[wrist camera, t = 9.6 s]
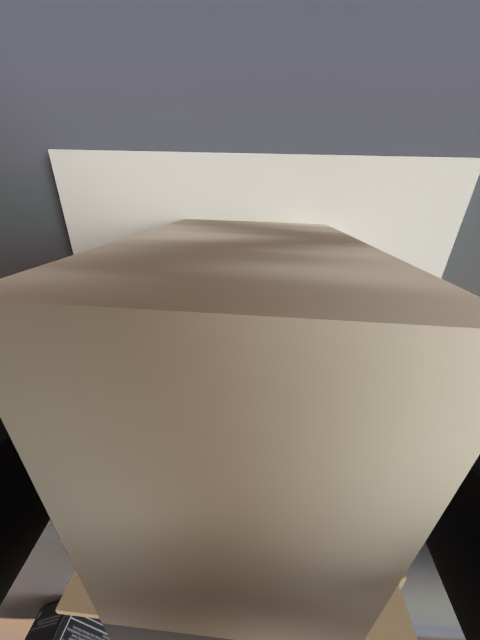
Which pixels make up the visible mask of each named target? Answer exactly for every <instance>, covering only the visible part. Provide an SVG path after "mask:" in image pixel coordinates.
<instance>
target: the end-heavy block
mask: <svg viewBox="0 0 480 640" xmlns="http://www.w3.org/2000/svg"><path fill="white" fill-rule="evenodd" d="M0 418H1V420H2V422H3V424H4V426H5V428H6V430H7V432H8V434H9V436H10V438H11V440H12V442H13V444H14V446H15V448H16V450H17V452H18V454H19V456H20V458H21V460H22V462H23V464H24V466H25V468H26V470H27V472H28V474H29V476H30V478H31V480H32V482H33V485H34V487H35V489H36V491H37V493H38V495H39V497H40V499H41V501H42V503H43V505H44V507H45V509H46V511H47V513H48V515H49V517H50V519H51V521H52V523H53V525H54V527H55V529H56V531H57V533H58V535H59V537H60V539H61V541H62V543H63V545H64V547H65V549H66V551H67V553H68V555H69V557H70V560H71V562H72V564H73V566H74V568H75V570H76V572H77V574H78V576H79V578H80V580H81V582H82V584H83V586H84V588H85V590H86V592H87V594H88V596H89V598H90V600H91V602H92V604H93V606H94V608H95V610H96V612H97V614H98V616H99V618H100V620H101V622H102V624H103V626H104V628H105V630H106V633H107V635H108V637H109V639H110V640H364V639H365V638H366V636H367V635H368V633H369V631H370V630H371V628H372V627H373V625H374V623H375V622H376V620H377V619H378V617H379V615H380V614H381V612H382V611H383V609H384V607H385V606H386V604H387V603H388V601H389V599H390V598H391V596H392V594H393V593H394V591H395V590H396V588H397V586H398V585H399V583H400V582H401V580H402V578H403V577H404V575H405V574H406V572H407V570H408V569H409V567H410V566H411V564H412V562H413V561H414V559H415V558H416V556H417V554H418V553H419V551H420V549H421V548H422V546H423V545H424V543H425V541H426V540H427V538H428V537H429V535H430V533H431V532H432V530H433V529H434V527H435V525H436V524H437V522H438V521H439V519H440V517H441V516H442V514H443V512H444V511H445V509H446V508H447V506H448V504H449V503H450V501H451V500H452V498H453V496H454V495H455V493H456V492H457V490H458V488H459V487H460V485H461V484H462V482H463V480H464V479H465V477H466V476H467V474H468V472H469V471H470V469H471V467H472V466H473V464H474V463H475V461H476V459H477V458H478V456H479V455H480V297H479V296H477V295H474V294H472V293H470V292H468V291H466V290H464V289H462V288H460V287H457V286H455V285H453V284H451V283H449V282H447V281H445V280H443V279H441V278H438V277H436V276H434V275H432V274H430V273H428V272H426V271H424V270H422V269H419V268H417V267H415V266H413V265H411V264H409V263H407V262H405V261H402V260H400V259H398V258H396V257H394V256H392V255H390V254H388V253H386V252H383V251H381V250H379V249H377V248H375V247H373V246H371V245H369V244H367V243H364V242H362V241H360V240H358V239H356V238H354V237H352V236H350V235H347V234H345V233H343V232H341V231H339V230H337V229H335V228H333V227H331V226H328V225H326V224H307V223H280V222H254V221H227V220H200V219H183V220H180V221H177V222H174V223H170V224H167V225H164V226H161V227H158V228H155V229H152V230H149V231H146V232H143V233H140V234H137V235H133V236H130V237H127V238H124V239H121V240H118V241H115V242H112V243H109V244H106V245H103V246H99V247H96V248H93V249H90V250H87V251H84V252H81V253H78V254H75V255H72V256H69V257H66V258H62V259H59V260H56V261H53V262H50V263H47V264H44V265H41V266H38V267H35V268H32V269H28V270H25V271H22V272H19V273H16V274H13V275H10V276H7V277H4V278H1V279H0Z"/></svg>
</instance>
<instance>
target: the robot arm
mask: <svg viewBox="0 0 480 640" xmlns="http://www.w3.org/2000/svg"><path fill="white" fill-rule="evenodd" d="M49 520H50V517H49V515H48V513H47V511H46V509H45V507H44V505H43V503H42V501H41V499H40V497H39V495H38V493H37V491H36V489H35V487H34V485H33V482H32V480H31V478H30V476H29V474H28V472H27V470H26V468H25V466H24V464H23V462H22V460H21V458H20V456H19V454H18V452H17V450H16V448H15V446H14V444H13V442H12V440H11V438H10V436H9V434H8V432H7V430H6V428H5V426H4V424H3V422H2V420H1V418H0V605H1V603H2V602H3V600H4V598H5V596H6V595H7V593H8V591H9V589H10V588H11V586H12V584H13V582H14V581H15V579H16V577H17V576H18V574H19V572H20V570H21V569H22V567H23V565H24V563H25V562H26V560H27V558H28V556H29V555H30V553H31V551H32V549H33V548H34V546H35V544H36V543H37V541H38V539H39V537H40V536H41V534H42V532H43V530H44V529H45V527H46V525H47V523H48V522H49ZM425 542H426V544H427V547H428V549H429V551H430V554H431V556H432V559H433V561H434V563H435V566H436V568H437V571H438V573H439V576H440V578H441V580H442V583H443V585H444V588H445V590H446V592H447V595H448V597H449V600H450V602H451V604H452V607H453V609H454V612H455V614H456V616H457V619H458V621H459V624H460V626H461V628H462V631H463V633H464V636H465V638H466V640H480V455H479V456H478V458H477V459H476V461H475V463H474V464H473V466H472V467H471V469H470V471H469V472H468V474H467V476H466V477H465V479H464V480H463V482H462V484H461V485H460V487H459V488H458V490H457V492H456V493H455V495H454V496H453V498H452V500H451V501H450V503H449V504H448V506H447V508H446V509H445V511H444V512H443V514H442V516H441V517H440V519H439V521H438V522H437V524H436V525H435V527H434V529H433V530H432V532H431V533H430V535H429V537H428V538H427V540H426V541H425Z"/></svg>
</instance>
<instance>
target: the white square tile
mask: <svg viewBox="0 0 480 640" xmlns="http://www.w3.org/2000/svg"><path fill="white" fill-rule="evenodd" d="M48 152H49V156H50V160H51V165H52V169H53V173H54V177H55V181H56V185H57V189H58V193H59V197H60V201H61V205H62V209H63V213H64V218H65V222H66V226H67V230H68V234H69V238H70V242H71V246H72V250H73V254H74V255H75V254H78V253H81V252H84V251H87V250H90V249H93V248H96V247H99V246H103V245H106V244H109V243H112V242H115V241H118V240H121V239H124V238H127V237H130V236H133V235H137V234H140V233H143V232H146V231H149V230H152V229H155V228H158V227H161V226H164V225H167V224H170V223H174V222H177V221H180V220H183V219H200V220H227V221H254V222H280V223H307V224H326V225H328V226H331V227H333V228H335V229H337V230H339V231H341V232H343V233H345V234H347V235H350V236H352V237H354V238H356V239H358V240H360V241H362V242H364V243H367V244H369V245H371V246H373V247H375V248H377V249H379V250H381V251H383V252H386V253H388V254H390V255H392V256H394V257H396V258H398V259H400V260H402V261H405V262H407V263H409V264H411V265H413V266H415V267H417V268H419V269H422V270H424V271H426V272H428V273H430V274H432V275H434V276H436V277H438V278H441V277H442V274H443V272H444V269H445V266H446V264H447V261H448V258H449V255H450V253H451V250H452V247H453V245H454V242H455V239H456V236H457V234H458V231H459V228H460V225H461V223H462V220H463V217H464V215H465V212H466V209H467V206H468V204H469V201H470V198H471V196H472V193H473V190H474V187H475V185H476V182H477V179H478V177H479V174H480V158H448V157H399V156H350V155H301V154H252V153H203V152H154V151H104V150H55V149H48Z"/></svg>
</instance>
